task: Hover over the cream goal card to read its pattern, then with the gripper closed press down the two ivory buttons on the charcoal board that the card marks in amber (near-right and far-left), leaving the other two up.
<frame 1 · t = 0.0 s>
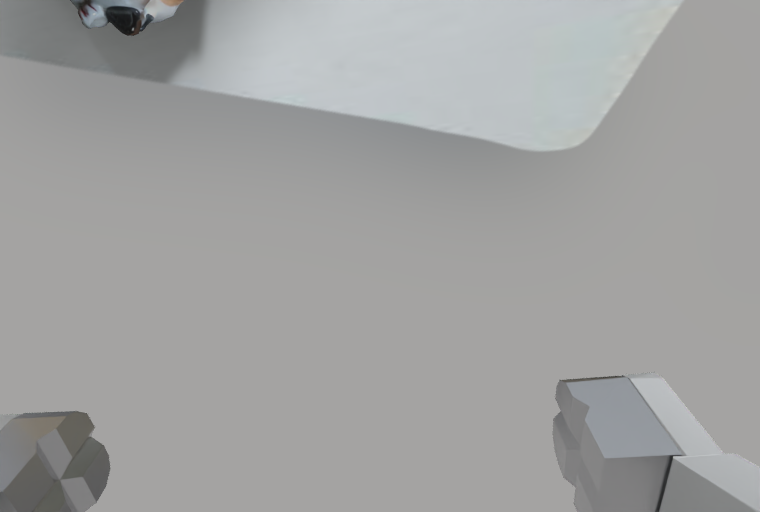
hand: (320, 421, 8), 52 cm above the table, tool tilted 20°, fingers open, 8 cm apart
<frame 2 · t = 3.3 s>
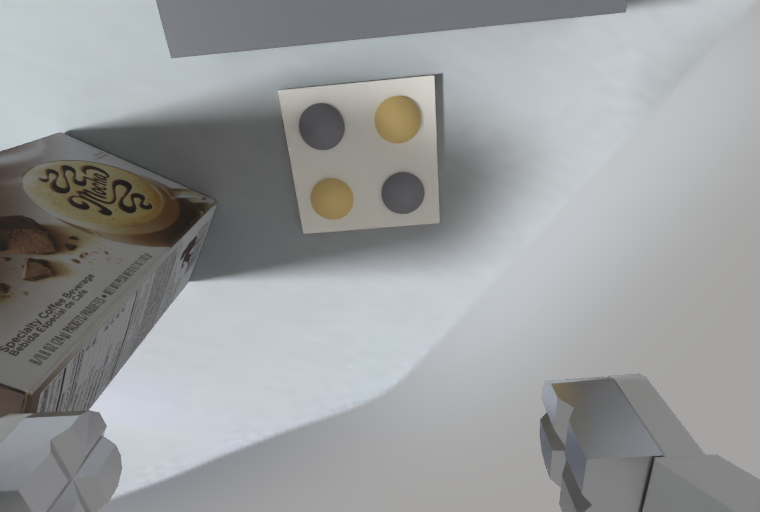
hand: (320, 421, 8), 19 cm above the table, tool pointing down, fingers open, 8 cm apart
goal card: (364, 159, 25), on the table
coffee box: (132, 212, 27), on the table
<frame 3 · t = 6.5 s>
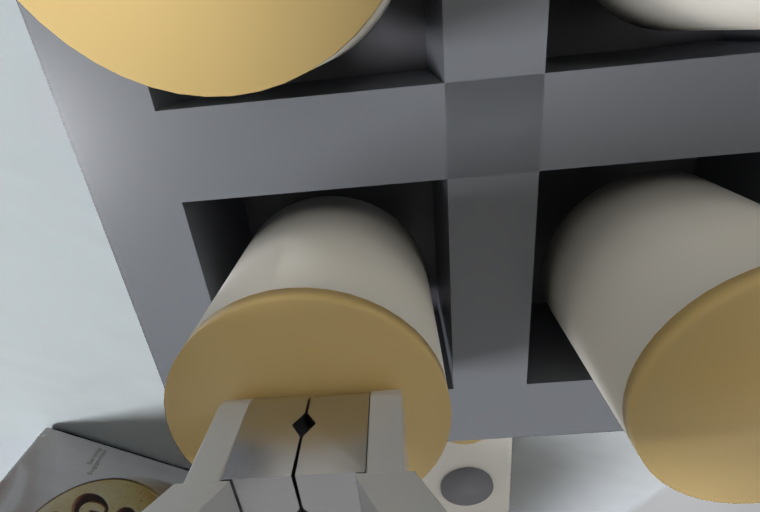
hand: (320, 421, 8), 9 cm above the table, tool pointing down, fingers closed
goal card: (420, 449, 21), on the table
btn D: (697, 316, 10), point 7 cm above the table, slide at 0.0 cm
btn B: (325, 337, 10), point 6 cm above the table, slide at 0.2 cm, touching gripper
board: (458, 98, 14), on the table
coffee box: (136, 492, 22), on the table
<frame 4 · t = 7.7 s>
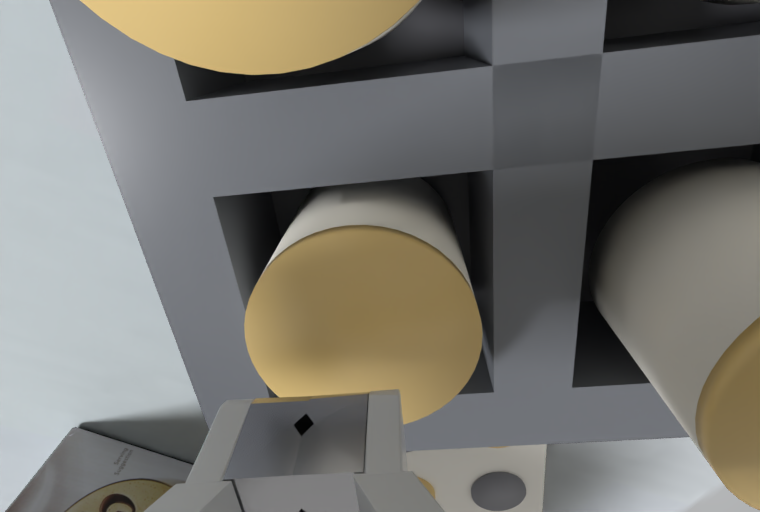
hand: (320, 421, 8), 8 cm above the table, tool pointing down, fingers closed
goal card: (450, 453, 20), on the table
btn B: (369, 283, 12), point 4 cm above the table, slide at 2.6 cm
board: (495, 87, 13), on the table
coffee box: (161, 492, 22), on the table
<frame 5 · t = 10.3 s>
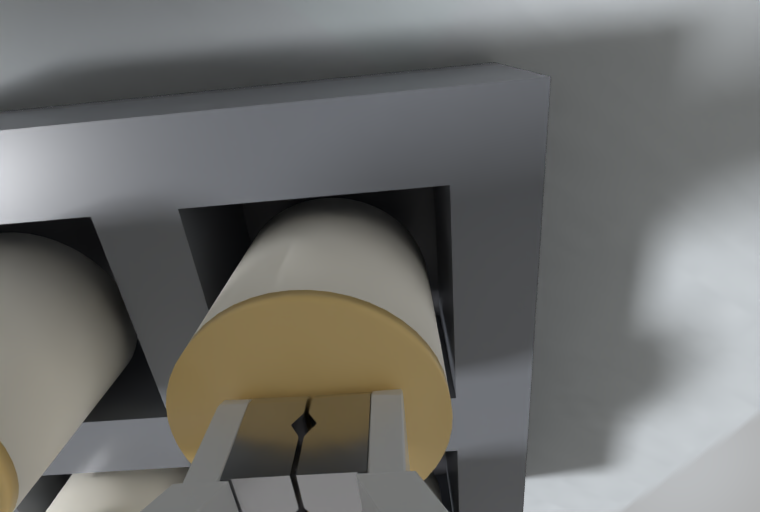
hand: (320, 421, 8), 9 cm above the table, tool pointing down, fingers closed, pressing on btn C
btn B: (139, 507, 16), point 4 cm above the table, slide at 2.6 cm
board: (256, 337, 18), on the table
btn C: (326, 339, 10), point 6 cm above the table, slide at 0.5 cm, touching gripper
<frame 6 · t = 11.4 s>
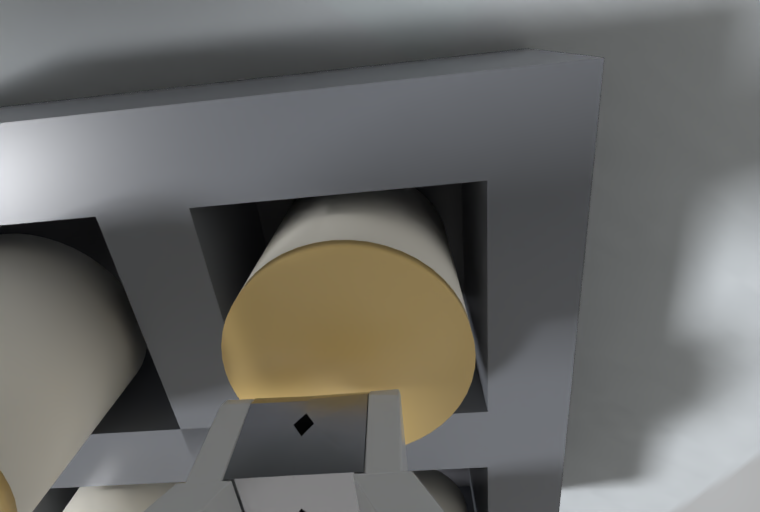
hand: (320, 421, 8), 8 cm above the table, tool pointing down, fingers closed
board: (271, 342, 17), on the table
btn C: (357, 297, 11), point 4 cm above the table, slide at 2.6 cm
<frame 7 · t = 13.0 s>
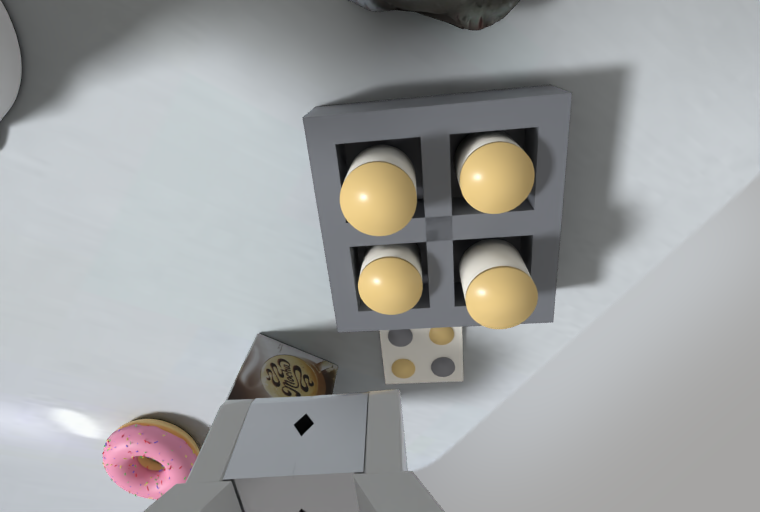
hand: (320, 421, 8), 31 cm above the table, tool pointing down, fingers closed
goal card: (421, 349, 46), on the table
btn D: (495, 282, 35), point 7 cm above the table, slide at 0.0 cm
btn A: (380, 188, 32), point 7 cm above the table, slide at 0.0 cm
doughnut: (162, 444, 55), on the table
btn B: (391, 272, 38), point 4 cm above the table, slide at 2.6 cm
board: (435, 206, 39), on the table
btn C: (491, 169, 33), point 4 cm above the table, slide at 2.6 cm
coffee box: (289, 368, 48), on the table
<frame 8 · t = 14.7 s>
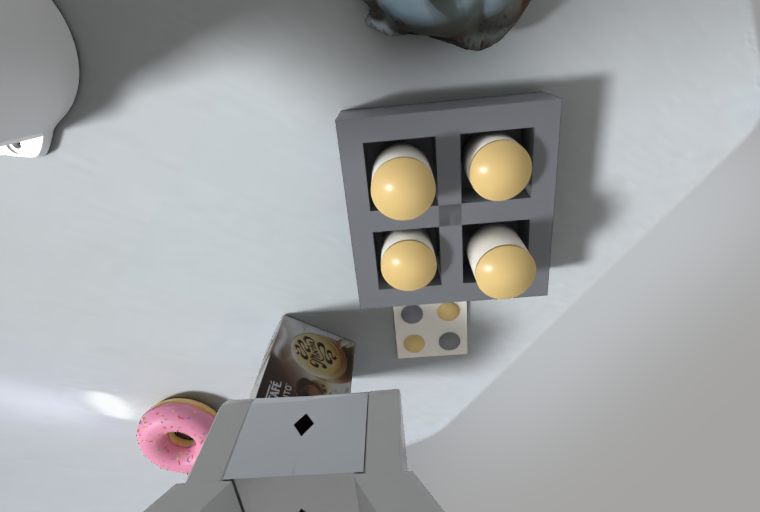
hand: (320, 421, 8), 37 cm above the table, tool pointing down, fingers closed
goal card: (430, 325, 52), on the table
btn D: (499, 260, 41), point 7 cm above the table, slide at 0.0 cm
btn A: (402, 180, 37), point 7 cm above the table, slide at 0.0 cm
doughnut: (189, 422, 59), on the table
btn B: (407, 254, 43), point 4 cm above the table, slide at 2.6 cm
board: (443, 197, 45), on the table
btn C: (494, 163, 39), point 4 cm above the table, slide at 2.6 cm
coffee box: (310, 347, 53), on the table
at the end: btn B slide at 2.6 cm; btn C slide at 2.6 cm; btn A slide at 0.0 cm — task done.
